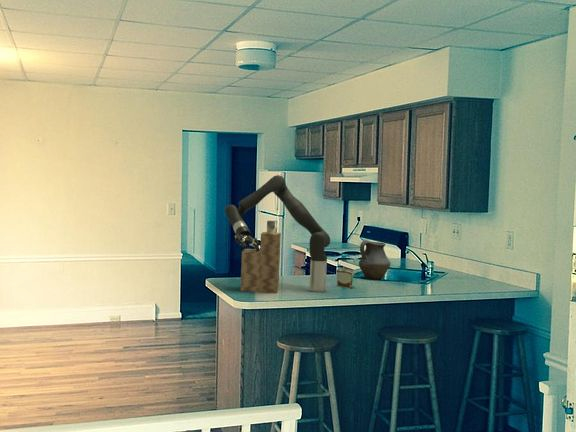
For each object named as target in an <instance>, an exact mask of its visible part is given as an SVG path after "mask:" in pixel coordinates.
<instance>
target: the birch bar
mask: <svg viewBox="0 0 576 432" xmlns="http://www.w3.org/2000/svg"><path fill="white" fill-rule="evenodd" d="M266 232H267V234H275V233H278V225H276V220H267V221H266Z"/></svg>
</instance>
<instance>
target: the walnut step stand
mask: <svg viewBox="0 0 576 432" xmlns="http://www.w3.org/2000/svg"><path fill="white" fill-rule="evenodd" d="M281 234H282V233H281V232H276V233H275V234H267V231H263V232H262V233H260V245H259V251H258V252H256V250H255V248H245V249H243V250H242V251H241V267H240V269H241V270H240V292H250V293H267V294H268V293H272V294H275V293H276V294H277V293H278V291H279V287H280V284H279V283H280V263H281V261H280V259H281V239H282V238H281V237H282V235H281Z"/></svg>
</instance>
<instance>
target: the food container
mask: <svg viewBox="0 0 576 432" xmlns="http://www.w3.org/2000/svg"><path fill="white" fill-rule="evenodd" d="M335 273H336V286H337V287H339V286H341V287H340V288H344V287H347V288H346V289H352V288H353V283H354V282H353V281H354V276H355V271H354V270H353V269H346V268H345V269H344V268H342V269H341V268H337V269H336V270H335Z"/></svg>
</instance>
